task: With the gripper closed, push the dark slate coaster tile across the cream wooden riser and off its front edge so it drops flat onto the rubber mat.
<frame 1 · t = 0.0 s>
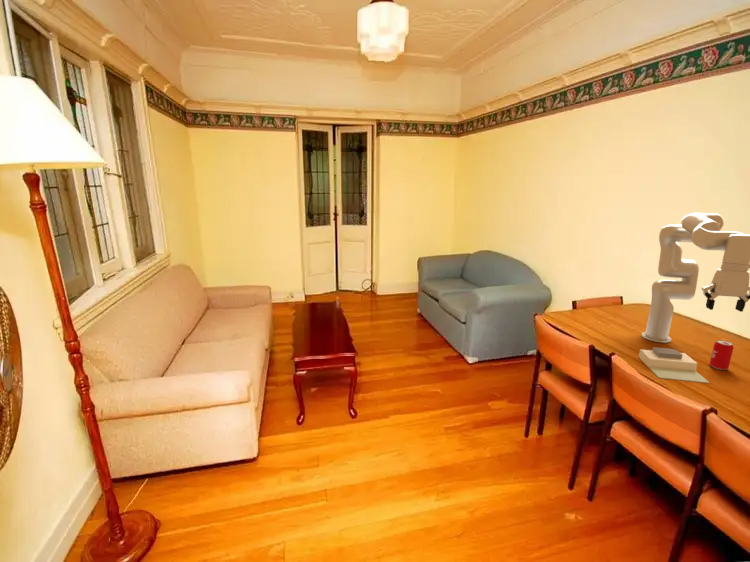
hand: (723, 309, 145), 31 cm above the table, fingers open, 9 cm apart
mat: (677, 375, 158), on the table
riser: (665, 364, 167), on the table
beverage can: (718, 367, 164), on the table
slate coaster: (666, 355, 167), point 4 cm above the table, touching riser
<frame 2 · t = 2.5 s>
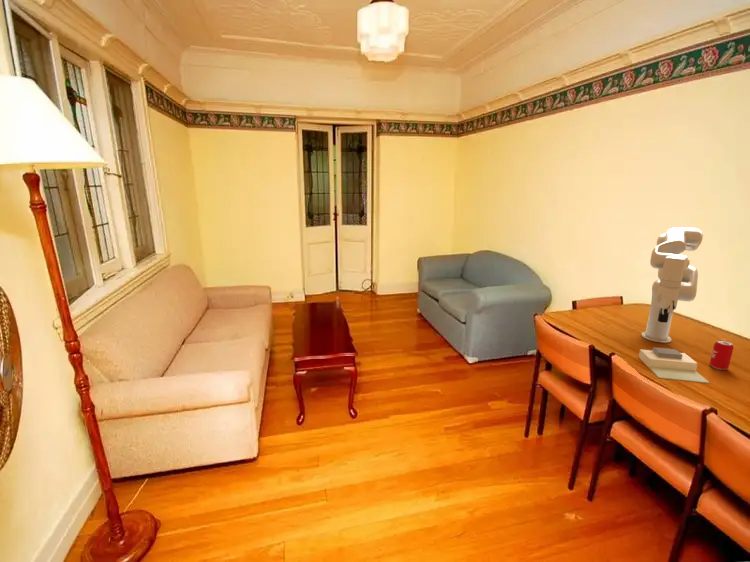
hand: (662, 321, 172), 17 cm above the table, fingers closed
nothing on the table moved.
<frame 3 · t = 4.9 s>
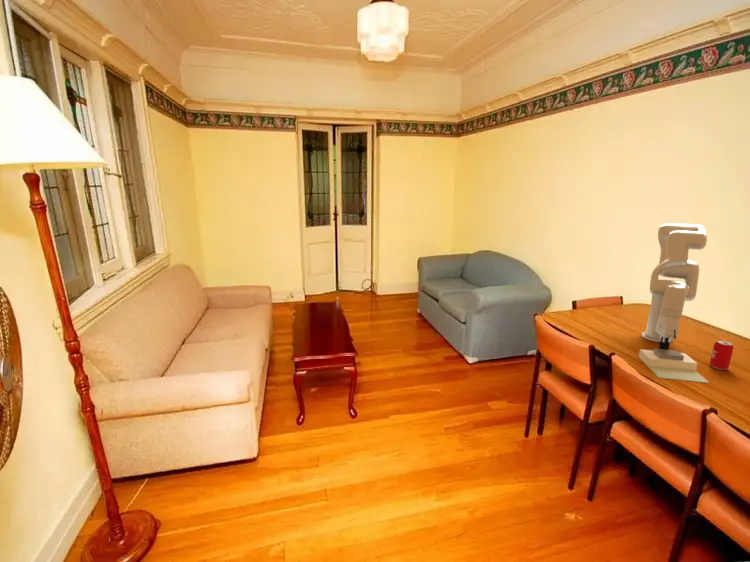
hand: (663, 349, 170), 5 cm above the table, fingers closed
slate coaster: (667, 356, 166), point 4 cm above the table, touching riser
everything else where it was.
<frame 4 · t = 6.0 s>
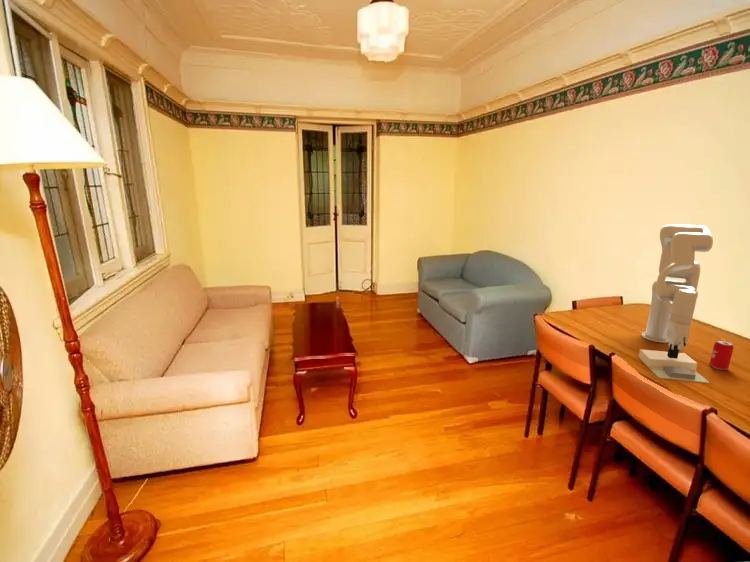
hand: (672, 357, 163), 5 cm above the table, fingers closed
slate coaster: (679, 370, 157), point 2 cm above the table, tilted 180°, touching mat
everything else where it was.
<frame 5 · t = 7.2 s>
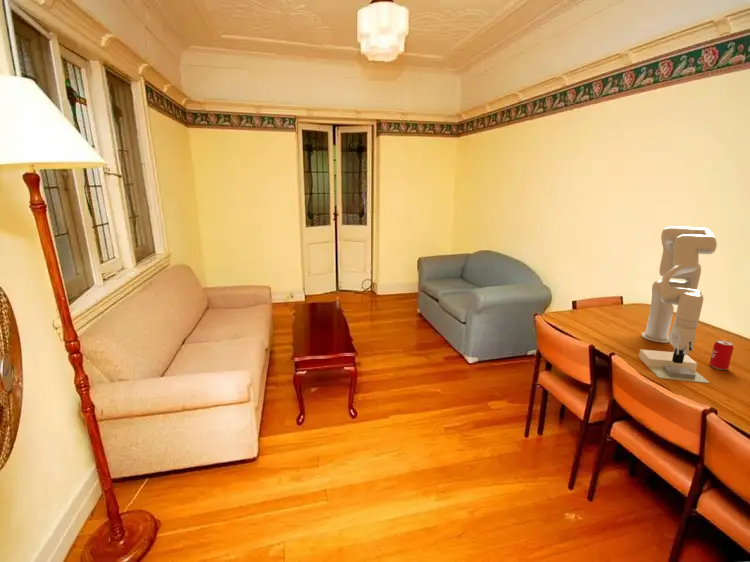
hand: (677, 362, 159), 5 cm above the table, fingers closed
nothing on the table moved.
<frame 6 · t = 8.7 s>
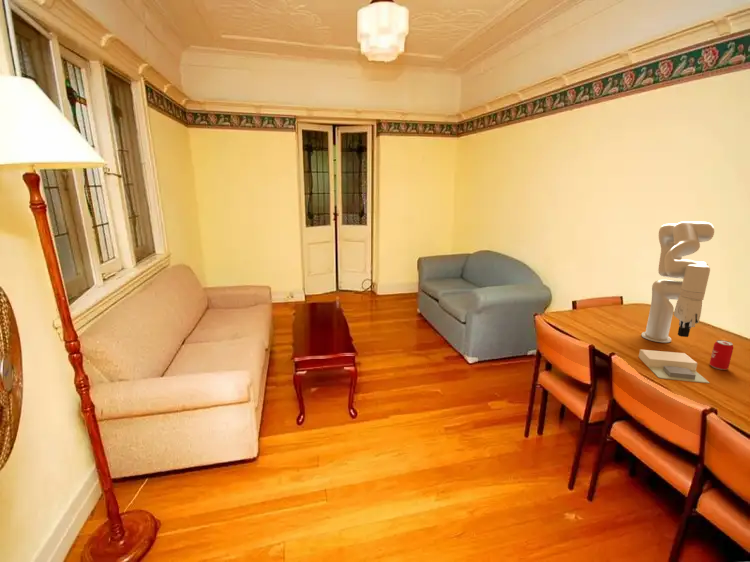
hand: (682, 335, 156), 17 cm above the table, fingers closed
nothing on the table moved.
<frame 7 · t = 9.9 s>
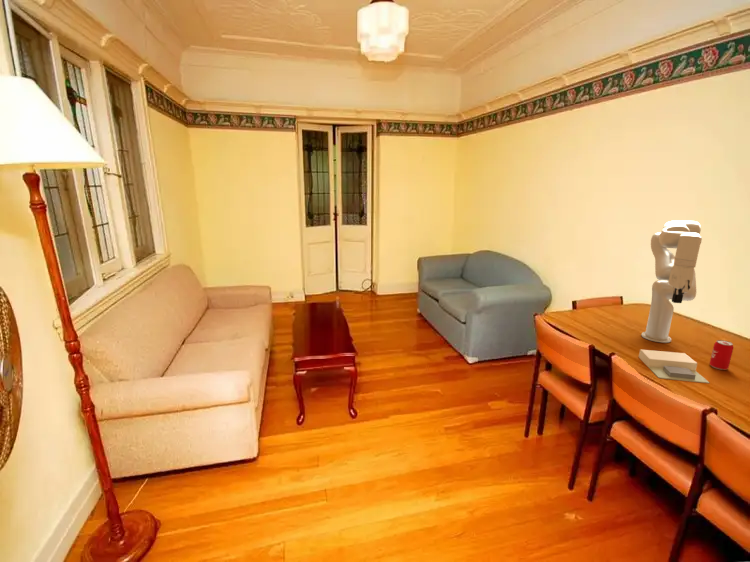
hand: (676, 302, 167), 27 cm above the table, fingers closed
nothing on the table moved.
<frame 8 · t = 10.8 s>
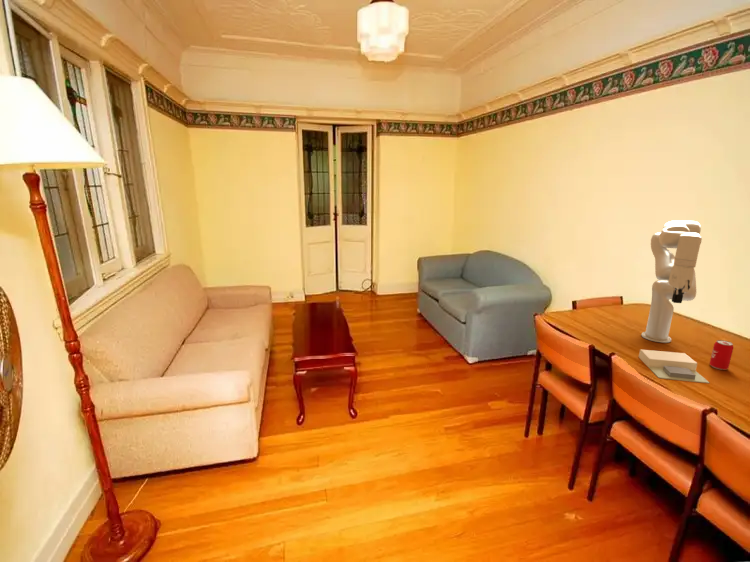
hand: (676, 302, 167), 27 cm above the table, fingers closed
nothing on the table moved.
at the end: slate coaster point 2.4 cm above the table; slate coaster inside the target area on the mat (0.4 cm from its centre), point 2.4 cm above the mat's base; slate coaster touching mat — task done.
